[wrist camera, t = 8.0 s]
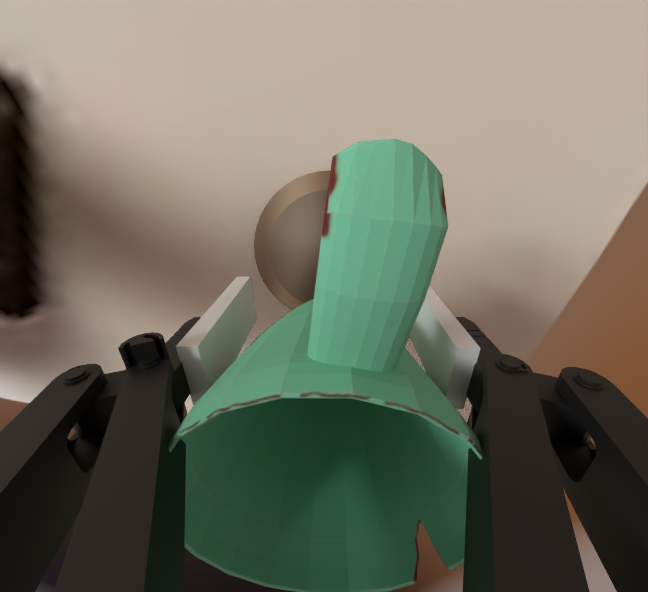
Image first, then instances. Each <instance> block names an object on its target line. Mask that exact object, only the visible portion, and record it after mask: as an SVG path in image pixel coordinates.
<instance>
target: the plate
mask: <svg viewBox="0 0 648 592" xmlns="http://www.w3.org/2000/svg"><path fill="white" fill-rule="evenodd" d="M330 172H331V171H321V172H315V173H311V174H307V175H305V176H302V177H300V178H297V179H295V180H294V181H292V182H290V183H288V184H287V185H286V186H284V187H283V188H282V189H280V190H279V191H278V192H277V193H276V194H275V195H274V196H273V197H272V198H271V200H270V201H269V202H268V204H267V205H266V207H265V208H264V210H263V212H262V214H261V216H260V219H259V222H258V224H257V228H256V233H255V242H254V248H255V258H256V263H257V266H258V269H259V272H260V275H261V277H262V279H263V281H264V282H265V284H266V286H267V287H268V289H269V290H270V291H271V292H272V294H273V295H274V296H275V297H276V298H277V299H278V300H279V301H280V302H282V303H283V304H284V305H286V306H287V307H289V308H290V309H292V310H294V309H295V308H296V307H298V306H300V305H302V304H304V303H306V302H308V301H310V300H313V299H314V293H315V285H316V277H317V268H318V260H319V252H320V244H321V236H322V227H323V219H324V211H325V204H326V198H327V191H328V185H329V178H330Z"/></svg>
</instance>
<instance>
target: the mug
mask: <svg viewBox="0 0 648 592" xmlns="http://www.w3.org/2000/svg"><path fill="white" fill-rule="evenodd" d="M447 228H448V221H447V213H446V205H445V197H444V188H443V180H442V175H441V173H440V172H439V170H438V169H437V168H436V166H435V165H434V164H433V163H432V162H431V160H430V159H429V158H428V157H427V156H426V155H425V154H424V153H423V152H421V151H420V150H419V149H418V148H417V147H415V146H414V145H413V144H411V143H407V142H404V141H400V140H397V139H391V140H376V141H364V142H357V143H356V144H354V145H352V146H350V147H348V148H346V149H344V150H343V151H341V152H340V153H338V154H336V155H335V156H333V159H332V165H331V172H330V178H329V185H328V191H327V198H326V204H325V211H324V219H323V227H322V236H321V244H320V252H319V260H318V268H317V277H316V285H315V293H314V299H313V300H310V301H308V302H306V303H304V304H302V305H300V306H298V307H296V308H295V309H294V310H292V311H291V312H289V313H288V314H286V315H285V316H284V317H282V318H281V319H280V320H278V321H277V322H276V323H274V324H273V325H272V326H271V327H269V328H268V329H267V330H266V331H264V332H263V333H262V334H261V335H259V336H258V337H257V338H256V339H255V340H254V341H253V342H252V344H251V345H250V346H249V347H248V348H247V349H246V350H245V351H244V352H243V353H242V354H241V355H240V356H239V357H238V358H237V359H236V360H235V361H234V362H233V363H232V364H231V366H230V367H229V368H228V369H227V370H226V371H225V372H224V373H223V374H222V375H221V376H220V377H219V379H218V380H217V381H216V382H215V383H214V384H213V385H212V386H211V387H210V388H209V389H208V391H207V392H206V393H205V394H204V395H203V396H202V397H201V398H200V399H199V400H198V401H197V402H196V403H195V405H194V406H193V407H192V409H191V410H190V411H189V413H188V414H187V416H186V417H185V419H184V420H183V422H182V423H181V425H180V426H179V428H178V429H177V431H176V433H175V434H174V436H173V438H172V439H171V441H170V443H169V445H168V449H169V451H170V453H171V451H172V450H173V448H174V447H175V445H176V444H177V442H178V441H179V439H182V440H183V442H184V443H185V444H186V485H185V545H184V547H185V548H186V549H188V550H189V551H190V552H191V553H192V554H193V555H194V556H196V557H198V558H200V559H201V560H203V561H205V562H207V563H209V564H211V565H212V566H214V567H216V568H218V569H220V570H222V571H223V572H225V573H227V574H229V575H233V576H236V577H239V578H242V579H245V580H248V581H251V582H254V583H257V584H260V585H263V586H266V587H271V588H277V589H283V590H289V591H294V592H384V591H392V590H395V589H398V588H401V587H405V586H409V585H412V584H415V583H416V580H417V567H418V560H419V551H418V544H417V534H418V529H419V523H420V522H421V523H422V525H423V526H424V528H425V530H426V531H427V533H428V535H429V537H430V539H431V542H432V544H433V546H434V548H435V550H436V551H437V553H438V554H439V556H440V558H441V559H442V561H443V562H444V564H445V565H446V567H447V568H448V569H449V570H451V569H453V568H455V567H457V566H459V565H461V564H463V563H464V550H465V524H466V498H467V473H468V449H469V448H470V447H471V449H472V450H473V451H474V452H475V453H476V455H477V456H478V457H479V458H480V460H481V459H482V455H483V452H482V449H481V446H480V443H479V440H478V438H477V436H476V434H475V433H474V432H473V430H472V429H471V428H470V426H469V425H468V424H467V423H466V421H465V420H464V419H463V417H462V416H461V415H460V414H459V412H458V411H457V410H456V408H455V407H454V406H453V405H452V403H451V402H450V401H449V400H448V399H447V397H446V396H445V395H444V394H443V393H442V391H441V390H440V389H439V388H438V387H437V386H436V384H435V383H434V382H433V381H432V380H431V378H430V377H429V376H428V375H427V374H426V373H425V371H424V370H423V369H422V368H421V367H420V366H419V364H418V363H417V362H416V361H415V360H414V358H413V357H412V356H411V355H410V353H409V352H408V351H407V350H406V348H405V345H406V342H407V340H408V338H409V335H410V333H411V330H412V328H413V326H414V323H415V321H416V319H417V316H418V314H419V312H420V309H421V307H422V305H423V302H424V300H425V297H426V294H427V291H428V288H429V285H430V281H431V278H432V275H433V272H434V269H435V266H436V263H437V260H438V256H439V253H440V250H441V247H442V244H443V241H444V238H445V235H446V231H447Z"/></svg>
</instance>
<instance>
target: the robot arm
mask: <svg viewBox="0 0 648 592" xmlns="http://www.w3.org/2000/svg"><path fill="white" fill-rule="evenodd" d="M255 320H256V312H255V305H254V298H253V290H252V283H251V276H237V277H236V278H235V279H234V280H233V282H232V283H231V284H230V285H229V286H228V287H227V288H226V290H225V291H224V292H223V293H222V294H221V295H220V296H219V298H218V299H217V300H216V301H215V302H214V303H213V304H212V306H211V307H210V308H209V309H208V310H207V311H206V312H205V314H204V315H203V316H202V317H194V318H193V319H191V320H189V321H187V322H186V323H184V324H183V326H182V327H181V328H180V329H179V331H177V332H176V333H175V334H174V336H172V337H171V338H170V339H169V340H168V341H167V342H166V343H165V341H164V338H163V335H161V334H159V333H144V334H141V335H137V336H135V337H132V338H130V339H128V340H126V341H125V342H124V343H122V344H121V345H120V347H119V348H118V349H119V352H120V354H121V356H122V359H123V361H124V364H125V366H126V370H124V371H119V372H114V373H109V374H104V373H103V371H102V368H101V366H99V365H97V364H87V365H82V366H77V367H75V368H72V369H69V370H68V371H66V372H64V373H62V374H61V375H59V376H58V377H57V378H55V379H54V380H53V381H52V382H51V383H50V384H49V385H48V386H47V387H46V388H45V389H44V390H43V391H42V392H41V393H40V394H39V395H38V396H37V397H36V398H35V399H34V400H33V401H32V402H31V403H30V404H28V405H27V407H25V408H24V409H23V410H22V411H21V412H20V413H19V414H18V416H16V417H15V418H14V419H13V420H12V421H11V422H10V423H9V424H8V425H7V426H6V427H5V428H4V429H3V430H2V431H1V432H0V592H35V591H36V589H37V588H38V585H39V584H40V582H41V580H42V578H43V577H44V575H45V573H46V571H47V569H48V568H49V566H50V564H51V562H52V560H53V559H54V557H55V555H56V553H57V551H58V549H59V548H60V546H61V544H62V542H63V541H64V539H65V537H66V535H67V533H68V532H69V530H70V528H71V526H72V524H73V523H74V520H75V519H76V517H77V515H78V514H79V516H78V519H77V522H76V526H75V528H74V532H73V535H72V538H71V541H70V544H69V547H68V550H67V553H66V557H65V559H64V563H63V566H62V569H61V572H60V575H59V578H58V581H57V584H56V587H55V590H54V592H184V545H185V485H186V444H185V443H184V442H183V440H182V439H179V441H178V442H177V444H176V445H175V447H174V448H173V450H172V451H171V453H170V451H169V449H168V445H169V443H170V441H171V439H172V438H173V436H174V434H175V433H176V431H177V429H178V428H179V426H180V425H181V423H182V422H183V420H184V419H185V417H186V416H187V410H186V407H185V404H184V402H185V401H186V399H187V398H188V396H189V394H190V395H191V399H192V402H193V405H195V403H196V402H197V401H198V400H199V399H200V398H201V397H202V396H203V395H204V394H205V393H206V392H207V391H208V389H209V388H210V387H211V386H212V385H213V384H214V383H215V382H216V381H217V380H218V379H219V377H220V376H221V375H222V374H223V373H224V372H225V371H226V370H227V369H228V368H229V367H230V366H231V364H232V363H233V362H234V361H235V360H236V358H237V356H238V354H239V352H240V350H241V348H242V346H243V344H244V342H245V340H246V338H247V336H248V334H249V332H250V330H251V328H252V326H253V324H254V322H255ZM410 338H411V340H412V342H413V344H414V346H415V349H416V351H417V353H418V355H419V357H420V360H421V362H422V364H423V366H424V368H425V370H426V373H427V375H428V376H429V377H430V378H431V380H432V381H433V382H434V383H435V384H436V386H437V387H438V388H439V389H440V390H441V391H442V393H443V394H444V395H445V396H446V397H447V399H448V400H449V401H450V402H451V403H452V405H453V406H454V407H455V408H459V409H463V408H464V405H465V401H466V398H467V397H468V399H469V401H470V403H471V404H472V409H471V412H470V416H469V419H468V422H467V424H468V425H469V426H470V428H471V429H472V430H473V432H474V433H475V434H476V436H477V438H478V440H479V443H480V446H481V449H482V452H483V455H482V459H481V460H480V458H479V457H478V456H477V455H476V453H475V452H474V451H473V450H472V449H471V447H470V448H469V449H468V473H467V498H466V524H465V550H464V576H463V592H589V588H588V584H587V580H586V577H585V573H584V569H583V565H582V561H581V557H580V553H579V549H578V545H577V542H576V538H575V534H574V530H573V526H572V522H571V518H570V514H569V511H568V507H567V503H566V499H565V496H564V491H563V488H564V490H565V492H566V494H567V496H568V498H569V500H570V502H571V504H572V506H573V508H574V510H575V512H576V514H577V515H578V517H579V519H580V521H581V523H582V525H583V527H584V529H585V531H586V533H587V535H588V537H589V538H590V541H591V542H592V544H593V546H594V548H595V550H596V552H597V554H598V556H599V558H600V560H601V562H602V564H603V566H604V567H605V569H606V571H607V573H608V575H609V577H610V579H611V581H612V583H613V585H614V587H615V589H616V591H617V592H648V418H647V417H646V416H645V415H643V413H641V411H639V409H637V407H636V406H635V405H634V404H633V403H632V402H631V401H630V400H629V399H628V398H627V397H626V396H625V395H624V394H623V393H622V392H621V391H620V390H619V389H617V387H616V386H615V385H613V384H612V383H611V382H610V381H608V380H607V379H606V378H604V377H602V376H600V375H598V374H597V373H595V372H592V371H590V370H586V369H581V368H577V367H567V368H564V369H562V371H561V373H560V376H559V377H558V378H557V377H552V376H547V375H542V374H537V373H533V371H532V370H531V368H530V366H528V365H527V364H526V363H525V362H523V361H522V360H520V359H518V358H516V357H513V356H510V355H506V354H502V353H501V352H500V351H499V350H498V349H497V348H496V346H495V345H494V344H493V343H492V342H491V341H490V340H489V339H488V338H487V337H486V335H485V334H484V333H483V332H482V331H481V330H480V329H479V328H478V327H477V326H476V324H475V323H473V322H472V321H470V320H468V319H466V318H465V317H455V316H454V315H453V314H452V313H451V311H450V310H449V309H448V308H447V307H446V305H445V304H444V303H443V302H442V300H441V299H440V298H439V297H438V296H437V294H436V293H435V292H434V291H433V289H432V288H431V287H430V286H429V288H428V291H427V294H426V297H425V300H424V302H423V305H422V307H421V309H420V312H419V314H418V316H417V319H416V321H415V323H414V326H413V328H412V330H411V333H410ZM72 428H73V429H74V430H75V434H74V435H73V436H72V438H71V439H68V438H67V437H68V434H69V433H70V431H71V429H72ZM591 437H592V439H593V440H594V443H595V446H596V447H595V446H594V445H593V443H592V442H591V441H590V439H591ZM562 486H563V487H562ZM79 512H80V513H79Z"/></svg>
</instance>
